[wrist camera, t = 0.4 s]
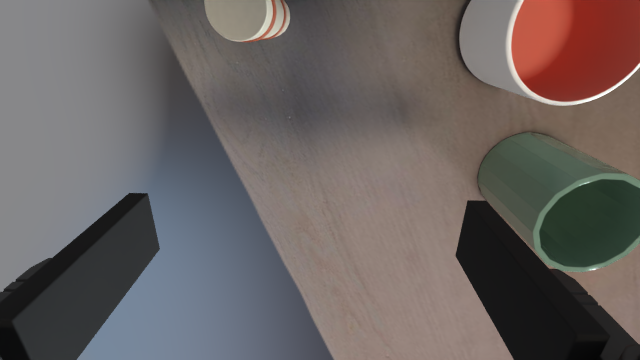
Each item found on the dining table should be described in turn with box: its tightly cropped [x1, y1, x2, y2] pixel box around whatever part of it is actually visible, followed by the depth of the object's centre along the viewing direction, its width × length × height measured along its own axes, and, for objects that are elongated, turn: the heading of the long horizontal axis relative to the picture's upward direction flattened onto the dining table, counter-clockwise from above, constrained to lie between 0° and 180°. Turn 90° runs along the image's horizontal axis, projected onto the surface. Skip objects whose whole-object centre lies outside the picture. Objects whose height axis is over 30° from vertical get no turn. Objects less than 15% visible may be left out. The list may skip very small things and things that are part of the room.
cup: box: [459, 0, 640, 106], centre depth 27 cm, size 10×10×10 cm
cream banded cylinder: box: [204, 0, 290, 42], centre depth 25 cm, size 4×4×13 cm
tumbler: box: [478, 133, 640, 272], centre depth 32 cm, size 9×9×11 cm
